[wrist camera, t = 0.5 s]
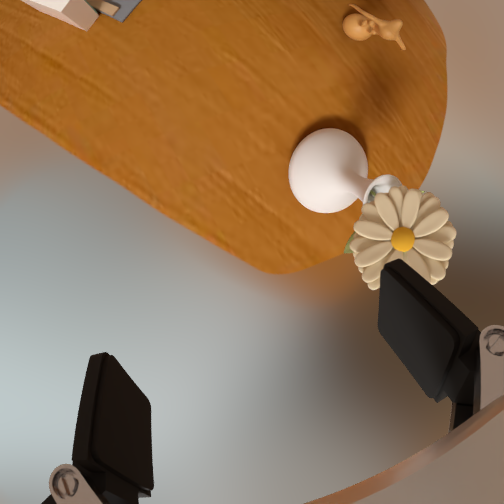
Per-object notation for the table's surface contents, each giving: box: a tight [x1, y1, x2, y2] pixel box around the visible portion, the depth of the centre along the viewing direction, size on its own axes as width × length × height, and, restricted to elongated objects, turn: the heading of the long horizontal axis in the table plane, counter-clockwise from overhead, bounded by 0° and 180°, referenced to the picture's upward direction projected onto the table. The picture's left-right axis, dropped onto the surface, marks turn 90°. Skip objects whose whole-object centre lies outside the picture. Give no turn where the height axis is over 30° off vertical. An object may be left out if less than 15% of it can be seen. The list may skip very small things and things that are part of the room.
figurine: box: [343, 4, 406, 50], centre depth 25 cm, size 8×6×12 cm
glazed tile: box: [22, 0, 99, 31], centre depth 17 cm, size 3×9×9 cm, turn 53°
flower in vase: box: [289, 128, 456, 290], centre depth 27 cm, size 13×11×25 cm
